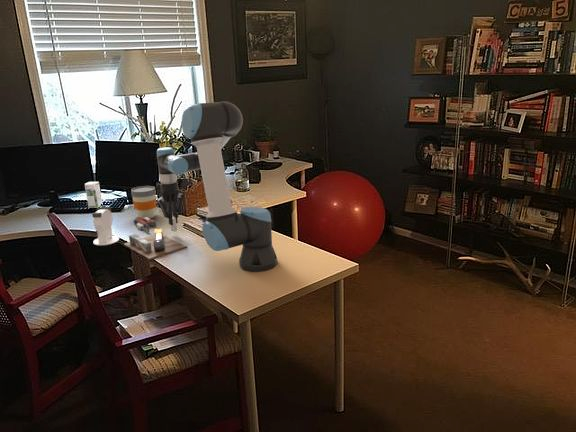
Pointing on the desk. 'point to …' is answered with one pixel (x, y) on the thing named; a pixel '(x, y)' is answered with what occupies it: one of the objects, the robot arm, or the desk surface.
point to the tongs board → (152, 246)
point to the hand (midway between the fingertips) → (174, 230)
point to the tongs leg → (158, 241)
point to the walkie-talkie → (144, 223)
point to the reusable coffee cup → (144, 201)
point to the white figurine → (104, 227)
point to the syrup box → (93, 194)
